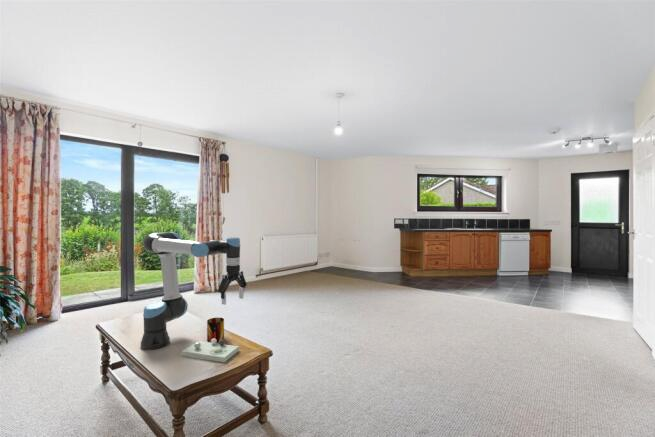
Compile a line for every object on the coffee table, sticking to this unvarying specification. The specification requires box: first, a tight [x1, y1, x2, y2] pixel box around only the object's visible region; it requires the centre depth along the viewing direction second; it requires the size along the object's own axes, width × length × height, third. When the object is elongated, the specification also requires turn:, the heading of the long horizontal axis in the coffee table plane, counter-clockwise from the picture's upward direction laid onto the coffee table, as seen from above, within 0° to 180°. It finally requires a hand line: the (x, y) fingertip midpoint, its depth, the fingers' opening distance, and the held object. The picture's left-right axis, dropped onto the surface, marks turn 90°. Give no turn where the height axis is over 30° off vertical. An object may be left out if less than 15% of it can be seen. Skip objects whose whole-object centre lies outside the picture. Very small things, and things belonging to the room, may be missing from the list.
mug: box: [206, 317, 225, 344], centre depth 195 cm, size 10×14×12 cm
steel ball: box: [194, 342, 201, 349], centre depth 178 cm, size 3×3×3 cm
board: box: [181, 340, 240, 363], centre depth 179 cm, size 26×14×2 cm, turn 74°
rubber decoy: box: [218, 339, 226, 346], centre depth 183 cm, size 3×3×3 cm
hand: (232, 301), depth 187 cm, fingers open, 13 cm apart
